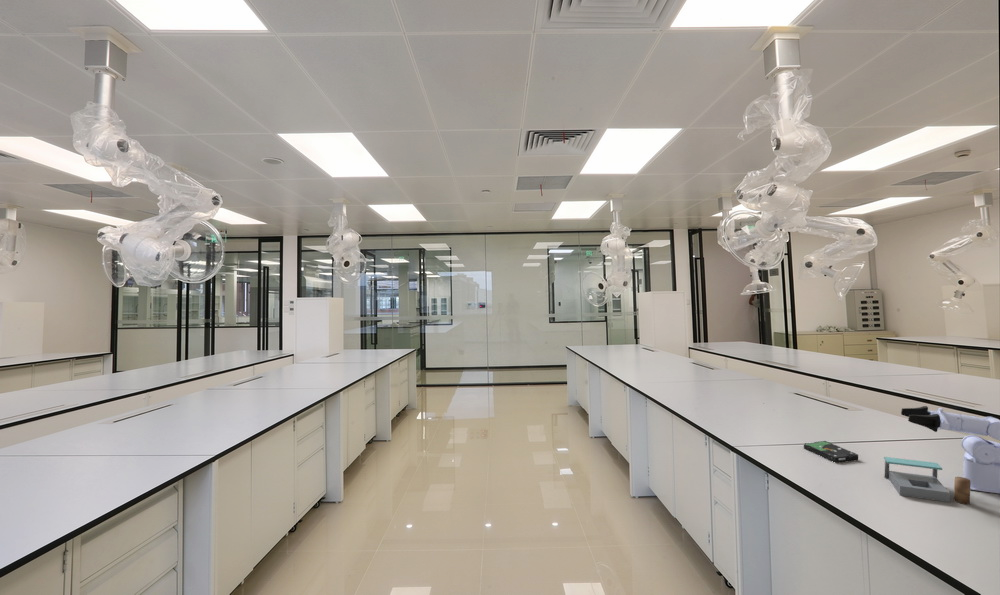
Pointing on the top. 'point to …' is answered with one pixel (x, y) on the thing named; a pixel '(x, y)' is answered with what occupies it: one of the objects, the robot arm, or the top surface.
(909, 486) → the socket block
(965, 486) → the peg
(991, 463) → the robot arm
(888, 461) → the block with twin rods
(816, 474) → the top surface
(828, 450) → the disk drive
